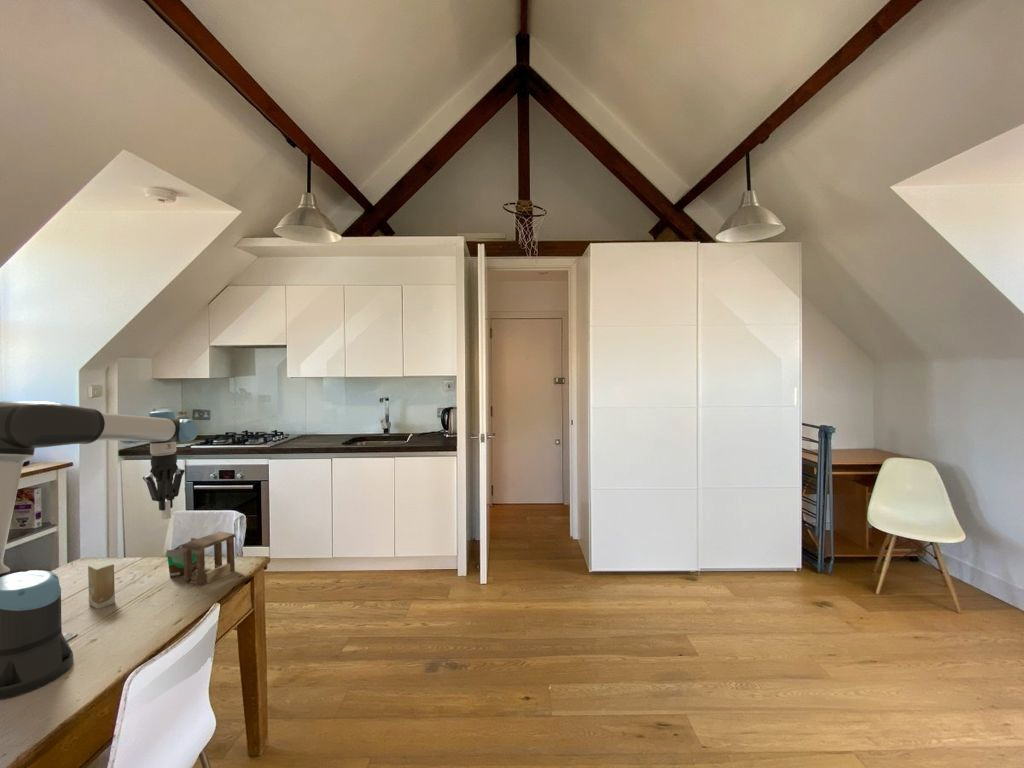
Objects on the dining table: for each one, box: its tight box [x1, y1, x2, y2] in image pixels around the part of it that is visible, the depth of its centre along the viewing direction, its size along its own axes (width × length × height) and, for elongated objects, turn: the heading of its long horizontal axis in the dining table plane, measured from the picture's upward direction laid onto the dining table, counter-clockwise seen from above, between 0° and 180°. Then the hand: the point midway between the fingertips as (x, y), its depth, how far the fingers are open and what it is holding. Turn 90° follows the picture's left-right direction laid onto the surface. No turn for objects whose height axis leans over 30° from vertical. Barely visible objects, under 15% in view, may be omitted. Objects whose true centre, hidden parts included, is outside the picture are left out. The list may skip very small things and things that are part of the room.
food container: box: [165, 537, 198, 579], centre depth 158 cm, size 12×6×10 cm, turn 179°
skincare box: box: [87, 560, 116, 610], centre depth 136 cm, size 6×4×12 cm
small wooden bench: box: [181, 531, 236, 587], centre depth 154 cm, size 13×8×13 cm, turn 159°
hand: (166, 518), depth 162 cm, fingers closed
